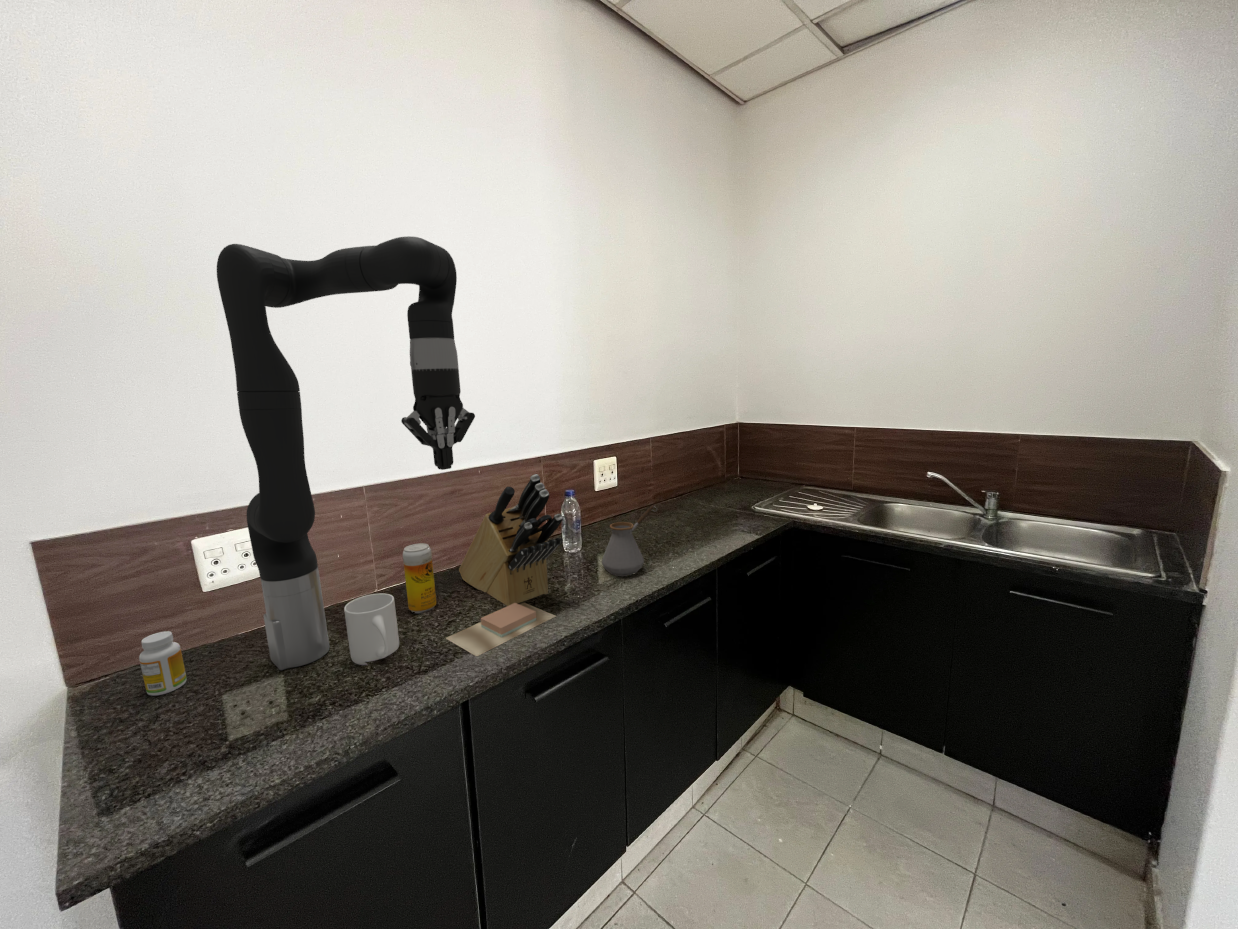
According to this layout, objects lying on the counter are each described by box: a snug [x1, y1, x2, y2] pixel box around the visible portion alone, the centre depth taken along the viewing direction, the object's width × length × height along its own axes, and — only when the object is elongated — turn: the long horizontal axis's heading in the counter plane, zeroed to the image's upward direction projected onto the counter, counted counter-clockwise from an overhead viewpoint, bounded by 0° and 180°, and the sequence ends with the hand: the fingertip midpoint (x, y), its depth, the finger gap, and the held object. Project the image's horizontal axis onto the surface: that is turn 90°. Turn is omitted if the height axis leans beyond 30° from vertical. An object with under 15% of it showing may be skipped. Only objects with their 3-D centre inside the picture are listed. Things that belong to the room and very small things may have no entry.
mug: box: [343, 592, 400, 666], centre depth 95 cm, size 9×12×11 cm
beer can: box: [402, 543, 437, 614], centre depth 115 cm, size 6×6×15 cm
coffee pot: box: [601, 504, 658, 577], centre depth 137 cm, size 21×12×15 cm, turn 142°
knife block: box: [458, 473, 564, 607], centre depth 120 cm, size 11×35×31 cm, turn 42°
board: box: [445, 602, 557, 657], centre depth 104 cm, size 20×11×1 cm, turn 139°
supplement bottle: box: [138, 630, 187, 696], centre depth 88 cm, size 5×5×10 cm
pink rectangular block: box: [480, 603, 536, 637], centre depth 105 cm, size 2×7×9 cm
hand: (444, 468), depth 86 cm, fingers closed
